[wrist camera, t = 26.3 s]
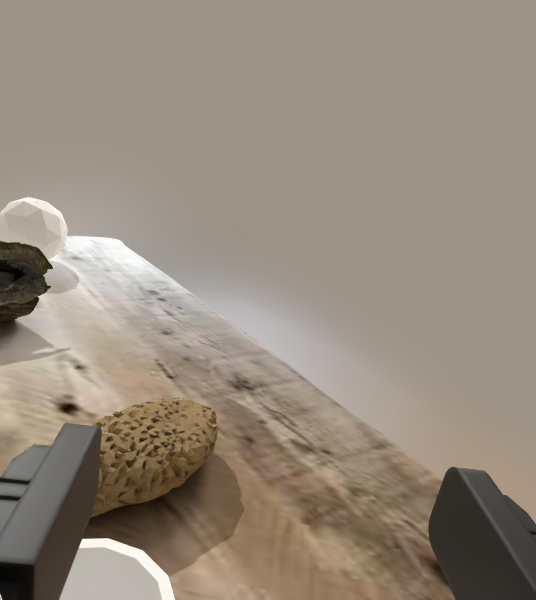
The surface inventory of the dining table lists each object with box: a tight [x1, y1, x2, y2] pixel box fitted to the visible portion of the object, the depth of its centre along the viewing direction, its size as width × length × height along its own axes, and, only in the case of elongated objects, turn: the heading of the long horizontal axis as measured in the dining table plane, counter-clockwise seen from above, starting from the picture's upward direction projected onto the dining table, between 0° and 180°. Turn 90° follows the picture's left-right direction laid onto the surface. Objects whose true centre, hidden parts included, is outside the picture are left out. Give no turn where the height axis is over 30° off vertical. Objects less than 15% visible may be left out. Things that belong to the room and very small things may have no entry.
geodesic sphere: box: [0, 196, 67, 260], centre depth 106 cm, size 15×14×14 cm
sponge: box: [24, 398, 219, 517], centre depth 49 cm, size 13×8×20 cm
